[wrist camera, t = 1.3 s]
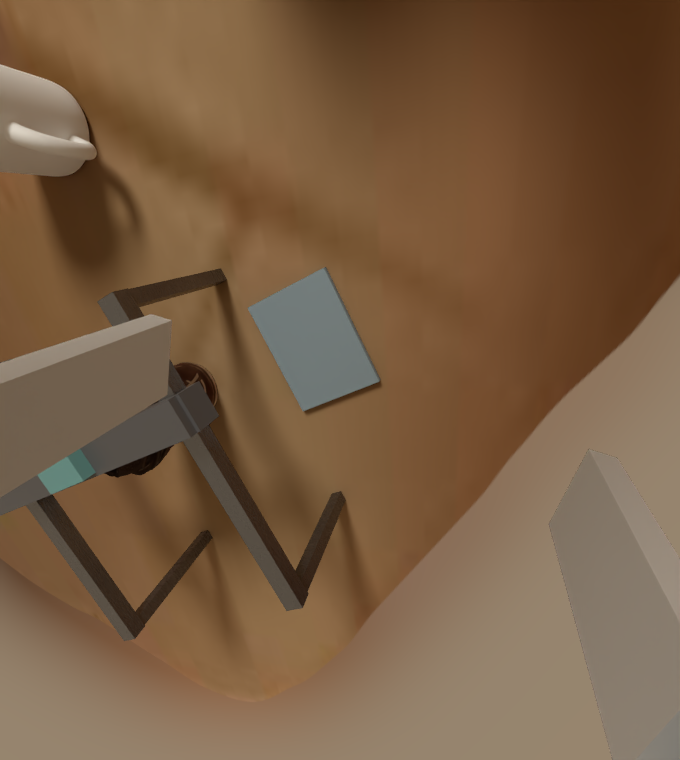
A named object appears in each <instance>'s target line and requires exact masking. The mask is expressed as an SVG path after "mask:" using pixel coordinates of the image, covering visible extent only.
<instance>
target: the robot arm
mask: <svg viewBox="0 0 680 760" xmlns="http://www.w3.org/2000/svg"><path fill="white" fill-rule="evenodd" d="M171 326H172V320H169V319H166V318H162V317H159V316H156V315H153V314H150V315H147V316H144V317H141V318H138V319H134V320H131V321H128V322H125V323H122V324H119V325H116V326H113V327H110V328H107V329H104V330H101V331H97V332H94V333H91V334H88V335H85V336H82V337H79V338H76V339H73V340H70V341H67V342H64V343H60V344H57V345H54V346H51V347H48V348H45V349H42V350H39V351H36V352H33V353H30V354H27V355H24V356H20V357H17V358H14V359H10V360H7V361H4V362H0V497H2V496H4V495H5V494H7V493H8V492H10V491H12V490H13V489H15V488H17V487H18V486H20V485H21V484H23V483H25V482H26V481H28V480H30V479H31V478H33V477H35V476H36V475H38V474H39V473H41V472H43V471H44V470H46V469H48V468H49V467H51V466H52V465H54V464H56V463H57V462H59V461H61V460H62V459H64V458H65V457H67V456H69V455H70V454H72V453H74V452H75V451H77V450H78V449H80V448H82V447H83V446H85V445H87V444H88V443H90V442H91V441H93V440H95V439H96V438H98V437H100V436H101V435H103V434H105V433H106V432H108V431H109V430H111V429H113V428H114V427H116V426H118V425H119V424H121V423H122V422H124V421H126V420H127V419H129V418H131V417H132V416H134V415H135V414H137V413H139V412H140V411H142V410H144V409H145V408H147V407H148V406H150V405H152V404H153V403H155V402H157V401H158V400H160V399H161V398H163V397H165V396H166V395H167V392H168V375H169V359H170V342H171ZM549 527H550V531H551V534H552V538H553V541H554V545H555V549H556V552H557V556H558V560H559V564H560V567H561V571H562V575H563V578H564V582H565V586H566V590H567V593H568V597H569V601H570V605H571V608H572V612H573V616H574V619H575V623H576V627H577V630H578V634H579V638H580V641H581V645H582V649H583V653H584V656H585V660H586V664H587V668H588V671H589V675H590V678H591V682H592V686H593V690H594V693H595V697H596V701H597V704H598V708H599V712H600V715H601V719H602V723H603V726H604V730H605V734H606V738H607V742H608V745H609V749H610V753H611V756H612V760H680V558H679V556H678V554H677V553H676V551H675V550H674V548H673V546H672V545H671V543H670V542H669V540H668V538H667V537H666V535H665V533H664V532H663V530H662V529H661V527H660V526H659V524H658V522H657V521H656V519H655V517H654V516H653V514H652V513H651V511H650V509H649V508H648V506H647V505H646V503H645V501H644V500H643V498H642V497H641V495H640V493H639V492H638V490H637V489H636V487H635V485H634V484H633V482H632V480H631V479H630V477H629V476H628V474H627V472H626V471H625V470H624V468H623V466H622V465H621V463H620V461H619V460H618V458H617V457H613V456H610V455H607V454H604V453H601V452H597V451H594V450H591V449H588V451H587V453H586V455H585V457H584V459H583V460H582V462H581V464H580V466H579V468H578V470H577V472H576V474H575V476H574V477H573V479H572V481H571V483H570V485H569V487H568V489H567V491H566V492H565V494H564V496H563V498H562V500H561V502H560V504H559V506H558V508H557V509H556V511H555V513H554V515H553V517H552V519H551V521H550V523H549Z"/></svg>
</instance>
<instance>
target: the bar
mask: <svg viewBox="0 0 680 760" xmlns="http://www.w3.org/2000/svg"><path fill="white" fill-rule="evenodd" d="M218 416H219V415H218V413H217V411H216V409H215V408H214V406H213V404H212V403H211V401H210V399H209V397H208V396H207V394H206V392H205V391H204V389H203V387H202V385H201V384H200V382H199V381H198V382H196V383H194V384H192V385H190V386H188V387H186V388H185V389H183V390H182V391H180V392H178V393H177V394H175V395H173V396H170V397H168V398H166V399H164V400H162V401H160V402H158V403H155V404H153V405H151V406H149V407H147V408H145V409H144V410H142V411H140V412H139V413H137V414H135V415H134V416H132V417H131V418H129V419H127V420H126V421H124V422H122V423H121V424H119V425H118V426H116V427H114V428H113V429H111V430H109V431H108V432H106V433H105V434H103V435H101V436H100V437H98V438H96V439H95V440H93V441H91V442H90V443H88V444H87V445H85V446H83V447H82V448H80V449H78V450H77V451H75V452H74V453H72V454H70V455H69V456H67V457H65V458H64V459H62V460H61V461H59V462H57V463H56V464H54V465H52V466H51V467H49V468H48V469H46V470H44V471H43V472H41V473H39V474H38V475H36V476H35V477H33V478H31V479H30V480H28V481H26V482H25V483H23V484H21V485H20V486H18V487H17V488H15V489H13V490H12V491H10V492H8V493H7V494H5V495H4V496H2V497H0V515H3V514H5V513H8V512H10V511H13V510H15V509H17V508H20V507H22V506H25V505H27V504H30V503H32V502H35V501H37V500H40V499H42V498H44V497H47V496H49V495H52V494H54V493H57V492H59V491H62V490H64V489H66V488H69V487H71V486H74V485H76V484H79V483H81V482H84V481H86V480H89V479H91V478H93V477H96V476H98V475H101V474H103V473H106V472H108V471H111V470H113V469H115V468H118V467H120V466H123V465H125V464H128V463H130V462H133V461H135V460H138V459H140V458H142V457H145V456H147V455H150V454H152V453H155V452H157V451H160V450H162V449H165V448H167V447H169V446H172V445H174V444H177V443H179V442H182V441H184V440H187V439H189V438H191V437H192V436H194V435H195V434H196V433H197V432H200V431H201V430H203V429H204V428H205V427H206V426H207V425H209V424H210V423H211V422H212V421H213V420H215V419H216V418H217V417H218Z"/></svg>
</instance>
